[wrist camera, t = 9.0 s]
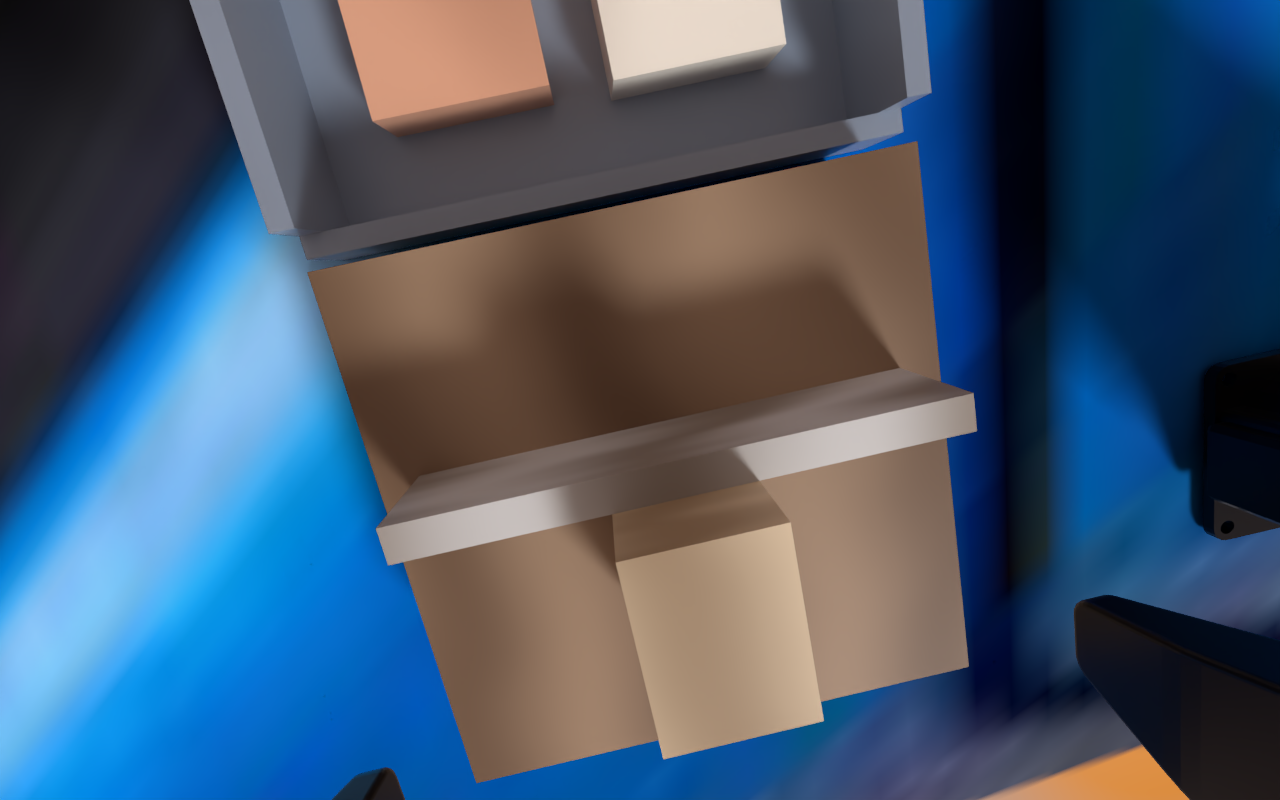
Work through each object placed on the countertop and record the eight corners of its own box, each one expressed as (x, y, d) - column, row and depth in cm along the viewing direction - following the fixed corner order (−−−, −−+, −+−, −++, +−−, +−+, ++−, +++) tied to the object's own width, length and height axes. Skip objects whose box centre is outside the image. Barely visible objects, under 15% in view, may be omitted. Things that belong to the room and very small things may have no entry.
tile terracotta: (549, 84, 15) (554, 104, 17) (503, -121, 14) (514, -75, 16) (372, 121, 15) (397, 137, 17) (313, -84, 14) (348, -42, 16)
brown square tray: (833, 172, 19) (917, 141, 14) (885, 576, 22) (969, 666, 17) (383, 269, 18) (307, 272, 14) (503, 665, 22) (476, 782, 17)
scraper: (899, 367, 15) (1046, 418, 10) (919, 542, 16) (1061, 664, 11) (419, 475, 15) (332, 580, 10) (472, 647, 16) (418, 817, 11)
